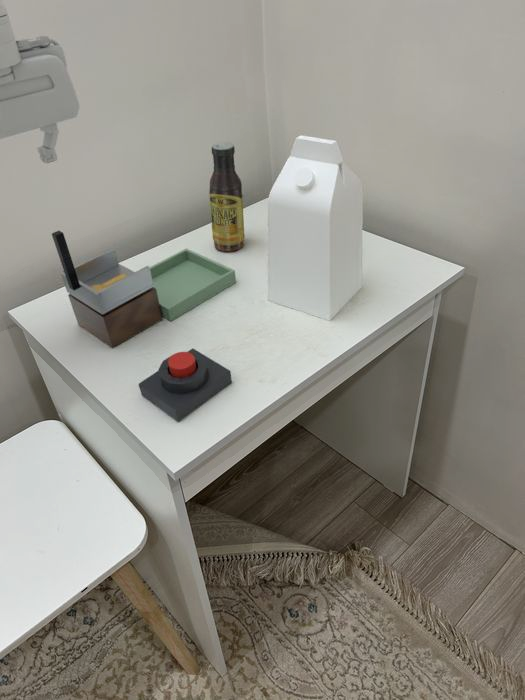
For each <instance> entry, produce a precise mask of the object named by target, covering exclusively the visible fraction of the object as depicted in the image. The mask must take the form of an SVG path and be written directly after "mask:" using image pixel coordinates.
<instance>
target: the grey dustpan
mask: <svg viewBox="0 0 525 700" xmlns="http://www.w3.org/2000/svg"><path fill="white" fill-rule="evenodd" d="M51 236H52V239H53V243H54V246H55V248H56V251H57V254H58V257H59V261H60V263H61V266H62V269H63V271H61V272H60V275H61V278H62V281H63V283H64V288H65V291H66V293H68V295H69V294H71V295H73V296H74V297H76V298H77V299H79V300H80V301H82V302H83V303H85V304H87V305H88V306H90V307H91V308H93V309H94V310H96V311H98V312H99V313H101V314H102V315H103V314H105V313H106V312H108V311H110V310H112V309H114V308H116V307H117V306H119V305H121V304H123V303H125V302H127V301H128V300H130V299H132V298H134V297H136V296H138V295H139V294H141V293H143V292H145V291H147V290H149V289H150V288H152V287H154V286H155V283H154V282H153V280H152V276H151V271H150V267H151V266H149V265H146V266H144V267H142V268H140V269H138V270H137V271H134V270H131V269H129V268H128V267H126V266H124V265H122V264H121V263H119V260H118V256H117V253H116V249H115V248H113V247H112V248H109V249H107V250H106V251H104V252H103V251H102V252H100V253H99V254H97V255H95V256H92V257H91V258H88V259H86V260H85V261H82V262H80V263H78V264H75V265H74V262H73V259H72V256H71V252H70V250H69V246H68V243H67V240H66V237H65V234H64V232H62V231H60V230H57V231H54V232H52V233H51ZM121 274H125V275H126V276H127V277H125V278H123V279H121V280H119V281H117V282H115V283H113V284H111V285H109V286H107V287H106V288H104V289H102V290H100V291H98V292H97V291H96V290H94V289H92V288H91V287H92V286H94V285H101V284H103V283H105V282H107V281H109V280H111V279H113V278H115V277H117V276H119V275H121Z"/></svg>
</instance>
